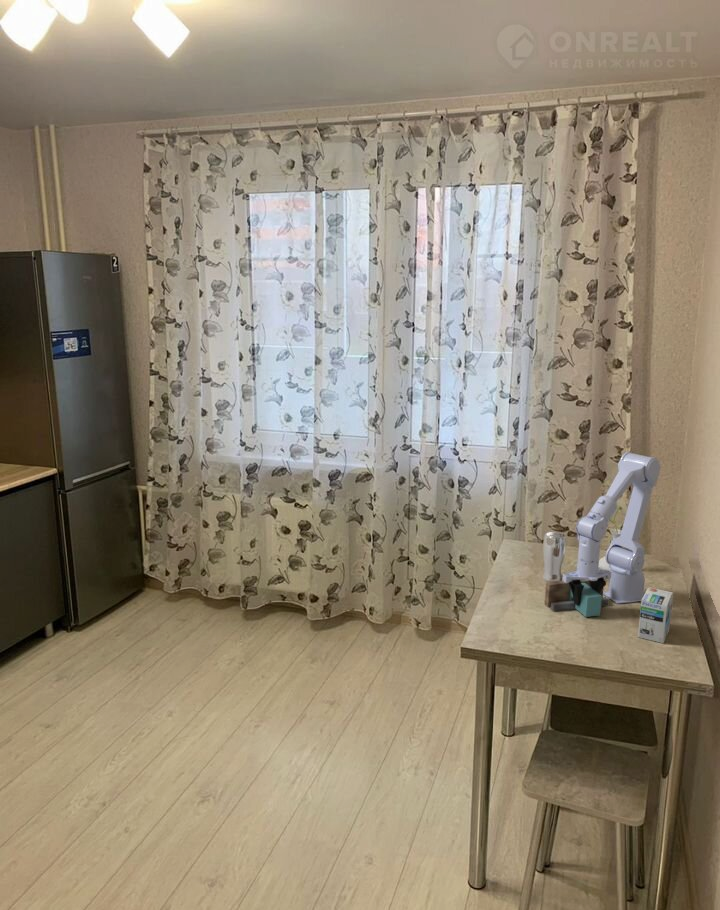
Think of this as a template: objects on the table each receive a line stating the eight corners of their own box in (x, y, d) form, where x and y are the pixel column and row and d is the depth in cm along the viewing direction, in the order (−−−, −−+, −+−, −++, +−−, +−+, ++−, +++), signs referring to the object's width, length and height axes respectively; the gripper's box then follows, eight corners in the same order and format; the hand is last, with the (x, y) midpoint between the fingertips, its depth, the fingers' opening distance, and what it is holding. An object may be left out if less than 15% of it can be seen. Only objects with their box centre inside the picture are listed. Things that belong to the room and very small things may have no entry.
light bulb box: (663, 644, 180) (668, 606, 177) (636, 637, 183) (640, 600, 181) (670, 628, 188) (674, 591, 186) (644, 622, 192) (648, 586, 190)
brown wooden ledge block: (598, 598, 207) (600, 576, 205) (608, 605, 202) (610, 583, 201) (544, 604, 203) (546, 582, 201) (553, 611, 198) (554, 589, 196)
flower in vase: (638, 577, 223) (645, 503, 217) (603, 577, 223) (609, 503, 218) (623, 562, 236) (630, 492, 230) (590, 562, 236) (596, 492, 230)
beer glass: (565, 577, 223) (569, 533, 219) (559, 584, 217) (562, 539, 214) (544, 572, 226) (547, 529, 223) (537, 579, 221) (540, 535, 217)
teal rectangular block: (582, 601, 203) (584, 582, 202) (599, 615, 195) (601, 595, 193) (568, 602, 202) (570, 583, 201) (585, 616, 194) (587, 597, 192)
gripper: (573, 566, 190) (569, 611, 193) (619, 561, 193) (615, 606, 196) (559, 557, 196) (556, 601, 199) (604, 552, 200) (600, 596, 203)
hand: (584, 603), depth 198 cm, fingers closed on teal rectangular block, 4 cm apart
